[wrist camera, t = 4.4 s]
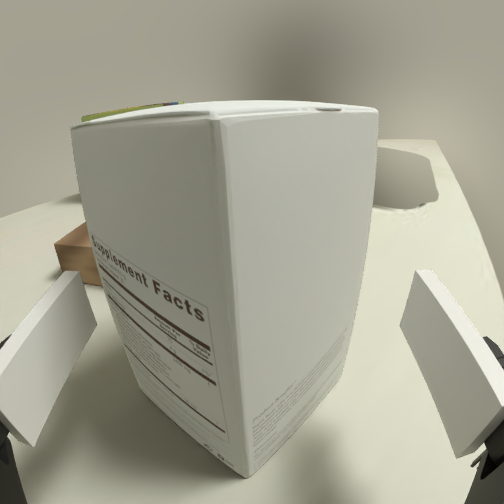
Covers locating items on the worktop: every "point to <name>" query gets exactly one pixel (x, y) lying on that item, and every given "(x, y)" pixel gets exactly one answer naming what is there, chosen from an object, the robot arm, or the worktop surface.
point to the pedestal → (78, 255)
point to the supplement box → (232, 257)
